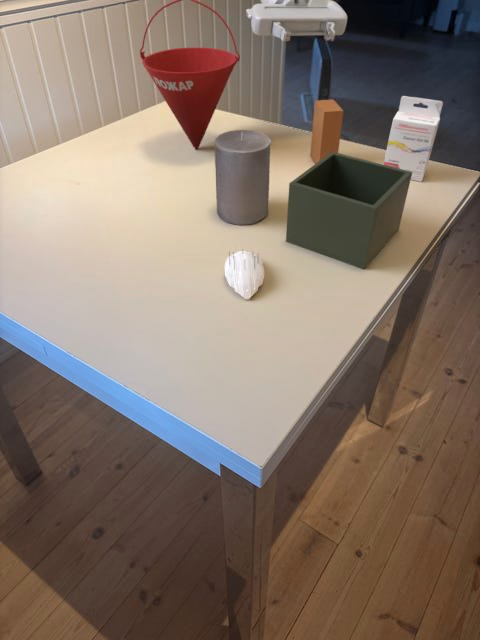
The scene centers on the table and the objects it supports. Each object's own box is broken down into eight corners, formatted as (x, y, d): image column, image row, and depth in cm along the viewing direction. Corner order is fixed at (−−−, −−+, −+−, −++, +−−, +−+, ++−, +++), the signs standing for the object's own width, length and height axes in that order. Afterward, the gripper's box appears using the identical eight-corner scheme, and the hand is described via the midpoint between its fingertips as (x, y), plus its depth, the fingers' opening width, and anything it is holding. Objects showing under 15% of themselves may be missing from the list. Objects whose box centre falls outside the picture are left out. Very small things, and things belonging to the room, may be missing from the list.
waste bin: (325, 206, 93) (331, 151, 86) (398, 229, 86) (412, 171, 79) (285, 241, 84) (289, 183, 77) (364, 269, 78) (376, 208, 70)
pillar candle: (215, 201, 95) (211, 123, 85) (265, 198, 96) (267, 120, 86) (218, 227, 88) (215, 145, 78) (272, 224, 88) (275, 142, 78)
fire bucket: (137, 162, 109) (112, 4, 89) (167, 130, 123) (151, -13, 103) (231, 171, 105) (227, 7, 85) (250, 136, 119) (251, -11, 99)
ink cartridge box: (380, 175, 103) (394, 102, 93) (385, 165, 106) (400, 94, 96) (422, 182, 100) (441, 108, 90) (426, 172, 103) (445, 100, 93)
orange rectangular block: (327, 154, 111) (333, 99, 103) (336, 167, 106) (343, 110, 98) (310, 155, 110) (314, 100, 102) (318, 169, 105) (324, 111, 97)
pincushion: (223, 256, 81) (222, 226, 77) (259, 254, 81) (260, 224, 77) (226, 302, 72) (225, 270, 68) (267, 299, 72) (268, 268, 68)
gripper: (245, -9, 101) (261, 20, 93) (336, -8, 106) (359, 20, 98) (242, 24, 106) (257, 54, 98) (329, 24, 111) (351, 52, 103)
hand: (309, 37), depth 98 cm, fingers open, 8 cm apart
